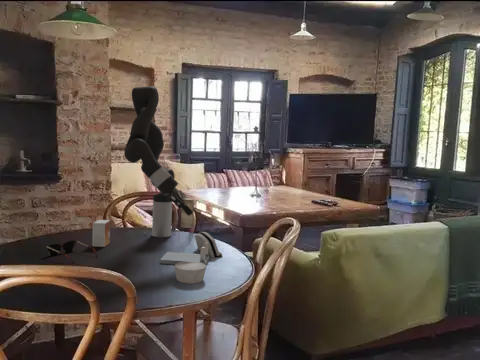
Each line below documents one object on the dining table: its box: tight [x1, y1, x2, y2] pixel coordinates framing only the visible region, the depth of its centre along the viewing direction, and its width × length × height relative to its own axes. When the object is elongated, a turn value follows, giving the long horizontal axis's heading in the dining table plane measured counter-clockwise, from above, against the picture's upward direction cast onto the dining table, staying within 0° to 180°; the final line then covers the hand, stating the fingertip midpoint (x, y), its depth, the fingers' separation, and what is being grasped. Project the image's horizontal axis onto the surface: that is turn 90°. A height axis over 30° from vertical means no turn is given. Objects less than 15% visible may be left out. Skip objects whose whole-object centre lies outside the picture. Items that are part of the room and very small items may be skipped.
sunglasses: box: [46, 239, 99, 264], centre depth 185 cm, size 14×16×5 cm
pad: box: [159, 242, 211, 266], centre depth 187 cm, size 12×18×7 cm, turn 86°
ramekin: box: [174, 262, 207, 284], centre depth 164 cm, size 11×11×5 cm
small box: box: [91, 219, 111, 248], centre depth 205 cm, size 8×6×10 cm
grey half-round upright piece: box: [194, 231, 223, 259], centre depth 201 cm, size 17×5×10 cm, turn 26°
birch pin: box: [180, 197, 195, 229], centre depth 185 cm, size 5×5×11 cm
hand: (192, 212), depth 185 cm, fingers closed on birch pin, 4 cm apart
